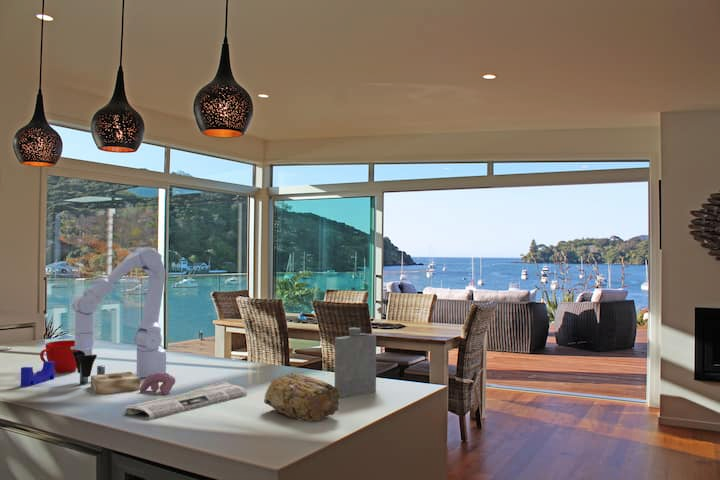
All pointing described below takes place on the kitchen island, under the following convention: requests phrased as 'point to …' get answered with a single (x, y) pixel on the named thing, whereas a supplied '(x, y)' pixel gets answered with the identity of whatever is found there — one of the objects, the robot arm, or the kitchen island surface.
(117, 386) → the bore block
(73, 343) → the ceramic cup
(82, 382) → the long pin
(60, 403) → the kitchen island surface
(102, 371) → the short pin
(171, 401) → the newspaper
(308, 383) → the petrified wood
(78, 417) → the kitchen island surface
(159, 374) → the pink textured arched piece
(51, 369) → the cable clip
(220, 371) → the kitchen island surface
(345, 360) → the hip flask
